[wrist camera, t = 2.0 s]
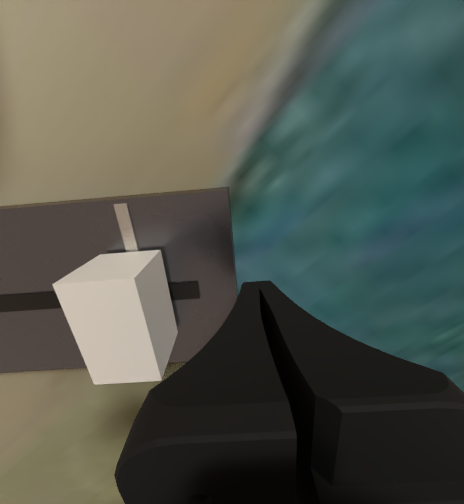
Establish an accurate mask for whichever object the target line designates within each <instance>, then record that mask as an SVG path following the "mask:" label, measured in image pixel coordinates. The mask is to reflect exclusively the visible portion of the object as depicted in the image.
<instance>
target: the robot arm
mask: <svg viewBox="0 0 464 504" xmlns="http://www.w3.org/2000/svg"><path fill="white" fill-rule="evenodd" d="M115 479H116V483H117V487H118V490H119V492H120V494H121V496H122V498H123V500H124V503H125V504H464V392H463V391H461V390H460V389H459V388H458V387H457V386H456V385H455V384H454V383H453V382H452V381H451V380H450V379H449V378H448V377H447V376H445V375H444V374H443V373H441V372H439V371H436V370H433V369H430V368H427V367H424V366H421V365H418V364H415V363H412V362H409V361H407V360H404V359H401V358H398V357H395V356H393V355H390V354H388V353H385V352H383V351H380V350H378V349H375V348H373V347H370V346H368V345H366V344H364V343H361V342H359V341H357V340H355V339H353V338H351V337H349V336H347V335H345V334H343V333H341V332H339V331H337V330H335V329H333V328H331V327H330V326H328V325H326V324H325V323H323V322H321V321H320V320H318V319H316V318H315V317H313V316H312V315H310V314H309V313H307V312H306V311H305V310H303V309H302V308H301V307H299V306H298V305H297V304H295V303H294V302H293V301H292V300H291V299H289V298H288V297H287V296H286V295H285V294H284V293H283V292H282V291H280V290H279V289H278V288H277V287H276V286H275V285H274V284H273V283H272V282H271V281H257V282H244V283H243V284H242V286H241V290H240V293H239V296H238V298H237V300H236V302H235V304H234V306H233V308H232V310H231V311H230V313H229V315H228V317H227V318H226V320H225V321H224V323H223V324H222V325H221V327H220V328H219V329H218V331H217V332H216V333H215V334H214V336H213V337H212V338H211V339H210V340H209V341H208V342H207V344H206V345H205V346H204V347H203V348H202V349H201V350H200V351H199V352H198V353H197V354H196V355H195V356H193V357H192V358H191V359H190V360H189V361H188V362H187V363H186V364H185V365H183V366H182V367H181V368H180V369H178V370H177V371H176V372H175V373H173V374H172V375H170V376H169V377H168V378H166V379H165V380H164V381H162V382H161V383H160V384H158V385H157V386H155V387H154V388H153V389H151V390H150V391H149V393H148V395H147V397H146V399H145V401H144V403H143V405H142V407H141V408H140V410H139V412H138V414H137V416H136V418H135V420H134V423H133V425H132V428H131V430H130V433H129V435H128V438H127V440H126V443H125V445H124V448H123V450H122V453H121V455H120V458H119V460H118V463H117V466H116V471H115Z"/></svg>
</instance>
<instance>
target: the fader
mask: <svg viewBox="0 0 464 504" xmlns="http://www.w3.org/2000/svg"><path fill="white" fill-rule="evenodd" d="M52 285H53V288H54V290H55V292H56V295H57V297H58V299H59V302H60V304H61V307H62V309H63V311H64V314H65V316H66V318H67V321H68V323H69V326H70V328H71V330H72V333H73V335H74V337H75V340H76V342H77V345H78V347H79V349H80V352H81V354H82V356H83V359H84V361H85V364H86V366H87V368H88V371H89V373H90V375H91V378H92V380H93V383H94V385H95V384H113V383H130V382H147V381H162V378H163V375H164V372H165V369H166V366H167V363H168V360H169V357H170V354H171V351H172V349H173V346H174V343H175V340H176V337H177V334H178V330H177V326H176V321H175V316H174V311H173V307H172V302H171V297H170V292H169V288H168V283H167V278H166V273H165V269H164V264H163V259H162V254H161V250H151V251H138V252H125V253H112V254H100V255H98V256H97V257H95V258H94V259H92V260H90V261H89V262H87V263H86V264H84V265H82V266H81V267H79V268H78V269H76V270H74V271H73V272H71V273H70V274H68V275H66V276H65V277H63V278H62V279H60V280H58V281H57V282H55V283H54V284H52Z"/></svg>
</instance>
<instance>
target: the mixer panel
mask: <svg viewBox="0 0 464 504" xmlns="http://www.w3.org/2000/svg"><path fill="white" fill-rule="evenodd" d="M151 250H161V254H162V259H163V264H164V269H165V273H166V278H167V283H168V288H169V292H170V297H171V302H172V307H173V311H174V316H175V321H176V326H177V330H178V334H177V337H176V340H175V343H174V346H173V349H172V351H171V354H170V357H169V360H168V363H172V362H188V361H189V360H190V359H191V358H192V357H193V356H195V355H196V354H197V353H198V352H199V351H200V350H201V349H202V348H203V347H204V346H205V345H206V344H207V342H208V341H209V340H210V339H211V338H212V337H213V336H214V334H215V333H216V332H217V331H218V329H219V328H220V327H221V325H222V324H223V323H224V321H225V320H226V318H227V317H228V315H229V313H230V311H231V310H232V308H233V306H234V304H235V302H236V300H237V298H238V292H237V281H236V269H235V257H234V245H233V233H232V221H231V209H230V197H229V187H223V188H211V189H200V190H188V191H176V192H164V193H153V194H141V195H129V196H118V197H106V198H94V199H83V200H71V201H59V202H47V203H36V204H24V205H12V206H1V207H0V373H7V372H23V371H40V370H56V369H73V368H87V366H86V364H85V361H84V359H83V356H82V354H81V352H80V349H79V347H78V345H77V342H76V340H75V337H74V335H73V333H72V330H71V328H70V326H69V323H68V321H67V318H66V316H65V314H64V311H63V309H62V307H61V304H60V302H59V299H58V297H57V295H56V292H55V290H54V288H53V285H52V284H54V283H55V282H57V281H58V280H60V279H62V278H63V277H65V276H66V275H68V274H70V273H71V272H73V271H74V270H76V269H78V268H79V267H81V266H82V265H84V264H86V263H87V262H89V261H90V260H92V259H94V258H95V257H97V256H98V255H100V254H112V253H125V252H138V251H151Z"/></svg>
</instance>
